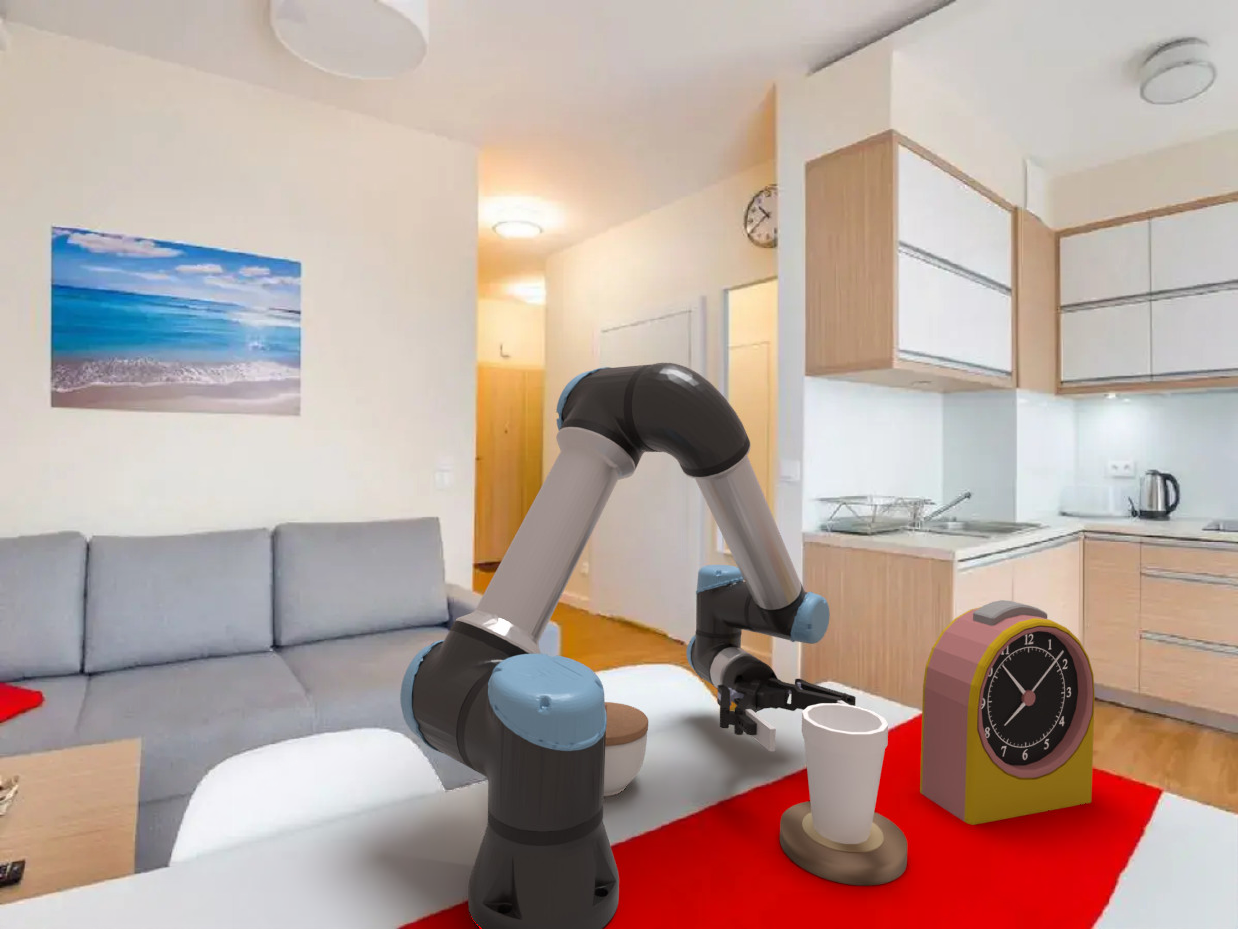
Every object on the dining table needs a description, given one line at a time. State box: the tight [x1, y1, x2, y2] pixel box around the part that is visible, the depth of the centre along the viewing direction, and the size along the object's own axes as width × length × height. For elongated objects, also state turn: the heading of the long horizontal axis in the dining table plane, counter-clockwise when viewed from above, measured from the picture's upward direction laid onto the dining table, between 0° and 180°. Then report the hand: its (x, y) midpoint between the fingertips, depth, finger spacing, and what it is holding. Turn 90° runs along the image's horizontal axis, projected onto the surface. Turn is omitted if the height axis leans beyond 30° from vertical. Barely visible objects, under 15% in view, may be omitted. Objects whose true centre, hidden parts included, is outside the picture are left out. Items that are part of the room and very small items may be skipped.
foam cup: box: [801, 703, 889, 844], centre depth 80 cm, size 10×9×13 cm
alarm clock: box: [919, 599, 1096, 825], centre depth 93 cm, size 21×9×26 cm, turn 108°
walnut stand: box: [779, 801, 908, 886], centre depth 80 cm, size 14×14×2 cm
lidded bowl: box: [603, 701, 649, 798], centre depth 95 cm, size 13×13×11 cm
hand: (822, 734), depth 85 cm, fingers open, 13 cm apart
